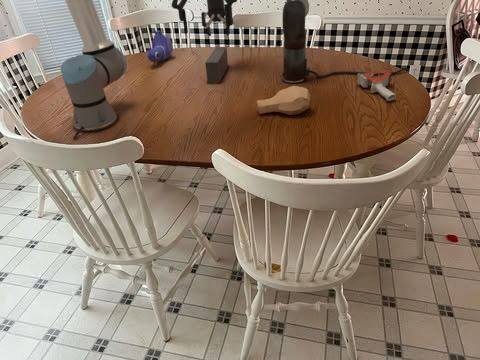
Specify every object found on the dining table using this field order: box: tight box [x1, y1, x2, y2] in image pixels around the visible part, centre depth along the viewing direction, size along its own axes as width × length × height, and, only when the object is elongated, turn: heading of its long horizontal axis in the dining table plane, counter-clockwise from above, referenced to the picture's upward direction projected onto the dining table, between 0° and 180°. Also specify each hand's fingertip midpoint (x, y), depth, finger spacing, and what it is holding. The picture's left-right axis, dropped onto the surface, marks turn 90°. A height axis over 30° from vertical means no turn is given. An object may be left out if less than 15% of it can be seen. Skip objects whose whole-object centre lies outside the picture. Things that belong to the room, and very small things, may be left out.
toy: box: [146, 29, 174, 67], centre depth 185 cm, size 10×17×25 cm
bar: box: [204, 46, 229, 84], centre depth 166 cm, size 23×5×9 cm, turn 171°
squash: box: [255, 85, 312, 116], centre depth 130 cm, size 11×20×9 cm, turn 92°
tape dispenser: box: [356, 69, 397, 102], centre depth 142 cm, size 18×5×20 cm
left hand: (207, 29), depth 114 cm, fingers open, 13 cm apart
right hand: (218, 35), depth 166 cm, fingers open, 8 cm apart
